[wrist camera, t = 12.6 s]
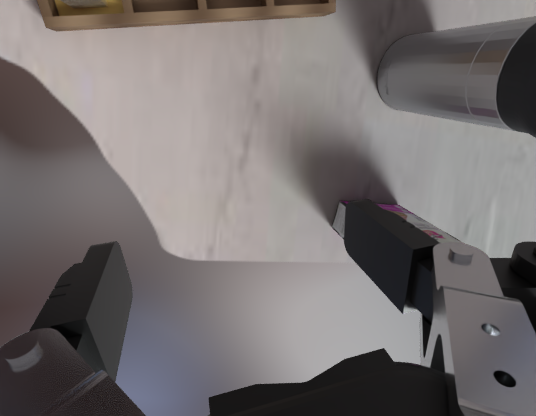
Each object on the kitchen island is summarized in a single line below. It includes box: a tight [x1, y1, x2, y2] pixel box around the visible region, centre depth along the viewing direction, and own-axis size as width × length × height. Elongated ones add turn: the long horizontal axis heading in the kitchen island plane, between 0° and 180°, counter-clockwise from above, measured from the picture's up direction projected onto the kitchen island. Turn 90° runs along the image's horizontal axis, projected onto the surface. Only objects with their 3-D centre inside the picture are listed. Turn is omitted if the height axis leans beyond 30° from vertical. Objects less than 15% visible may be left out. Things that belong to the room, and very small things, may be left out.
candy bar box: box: [332, 201, 465, 244], centre depth 42 cm, size 11×5×16 cm, turn 80°
